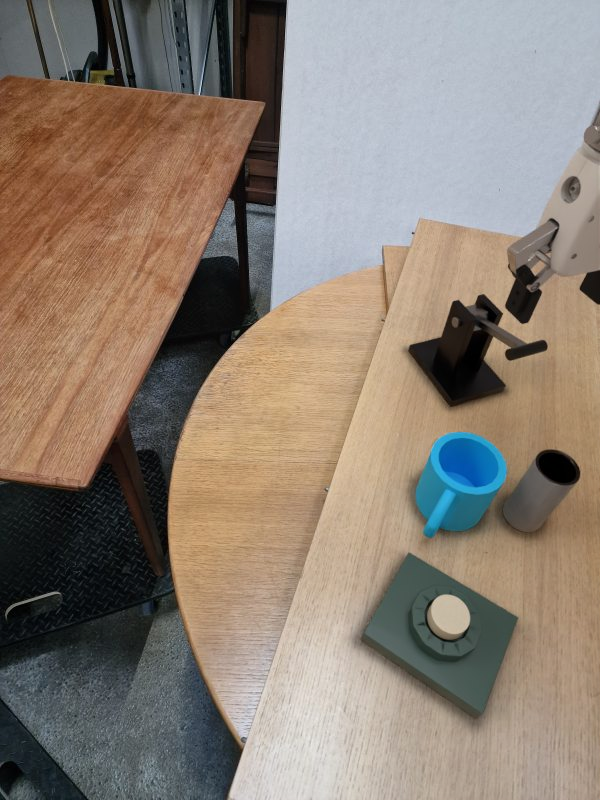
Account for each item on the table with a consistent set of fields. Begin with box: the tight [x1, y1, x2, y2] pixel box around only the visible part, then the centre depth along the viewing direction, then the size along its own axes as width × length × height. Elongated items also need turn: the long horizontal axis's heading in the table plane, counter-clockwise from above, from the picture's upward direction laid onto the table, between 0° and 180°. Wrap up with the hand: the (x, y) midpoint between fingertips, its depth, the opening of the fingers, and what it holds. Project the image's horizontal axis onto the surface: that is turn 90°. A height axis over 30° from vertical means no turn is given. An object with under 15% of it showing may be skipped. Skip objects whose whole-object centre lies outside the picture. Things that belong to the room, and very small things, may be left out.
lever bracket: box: [407, 293, 507, 408], centre depth 72 cm, size 12×9×12 cm
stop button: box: [427, 595, 470, 640], centre depth 48 cm, size 4×4×2 cm
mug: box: [414, 431, 508, 539], centre depth 58 cm, size 12×8×8 cm
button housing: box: [360, 552, 519, 719], centre depth 50 cm, size 12×10×4 cm
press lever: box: [465, 303, 549, 362], centre depth 65 cm, size 12×5×2 cm, turn 21°
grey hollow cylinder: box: [502, 448, 581, 533], centre depth 57 cm, size 4×4×10 cm
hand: (554, 306), depth 54 cm, fingers open, 9 cm apart
